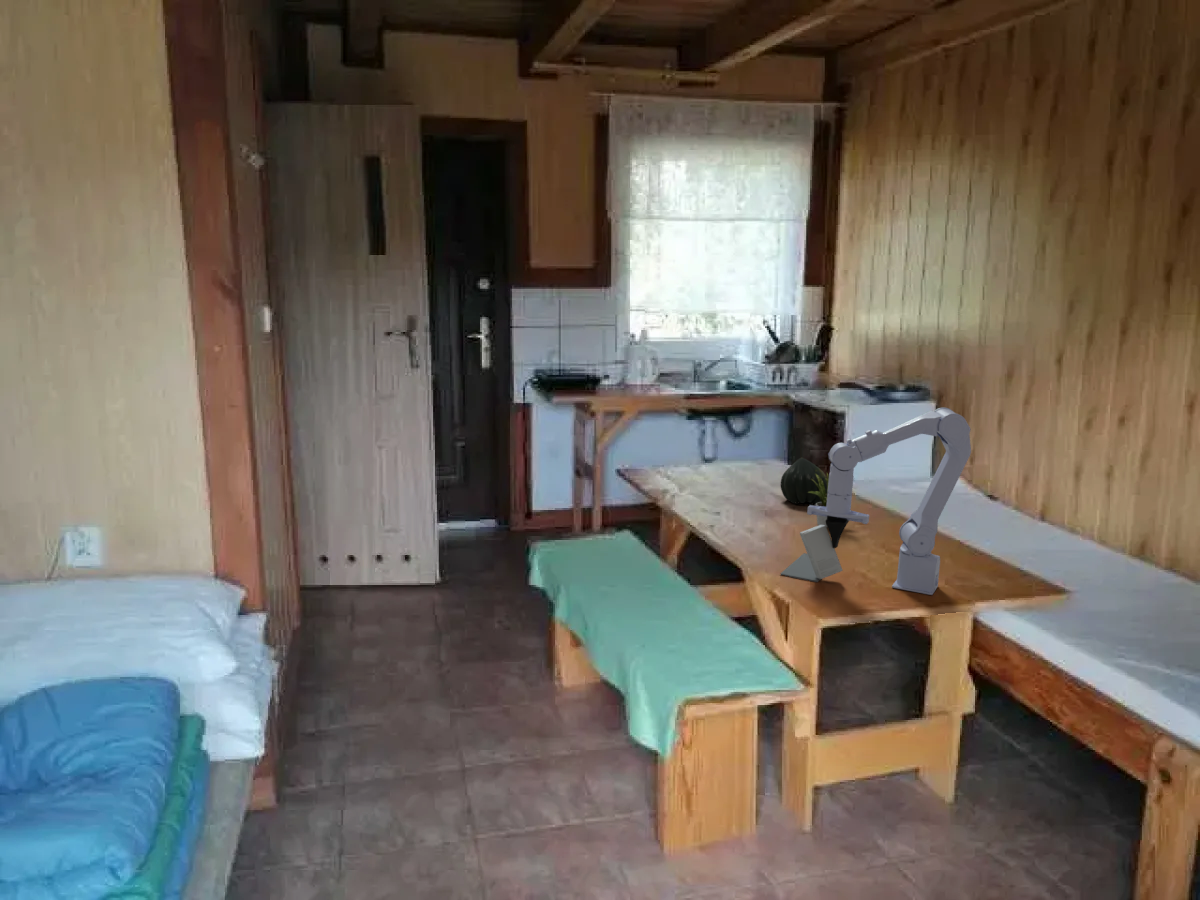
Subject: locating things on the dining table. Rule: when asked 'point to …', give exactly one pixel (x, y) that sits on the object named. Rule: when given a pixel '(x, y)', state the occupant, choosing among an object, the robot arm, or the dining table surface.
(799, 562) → the mat
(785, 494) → the squash
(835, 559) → the skincare box
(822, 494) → the house plant
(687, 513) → the dining table surface
